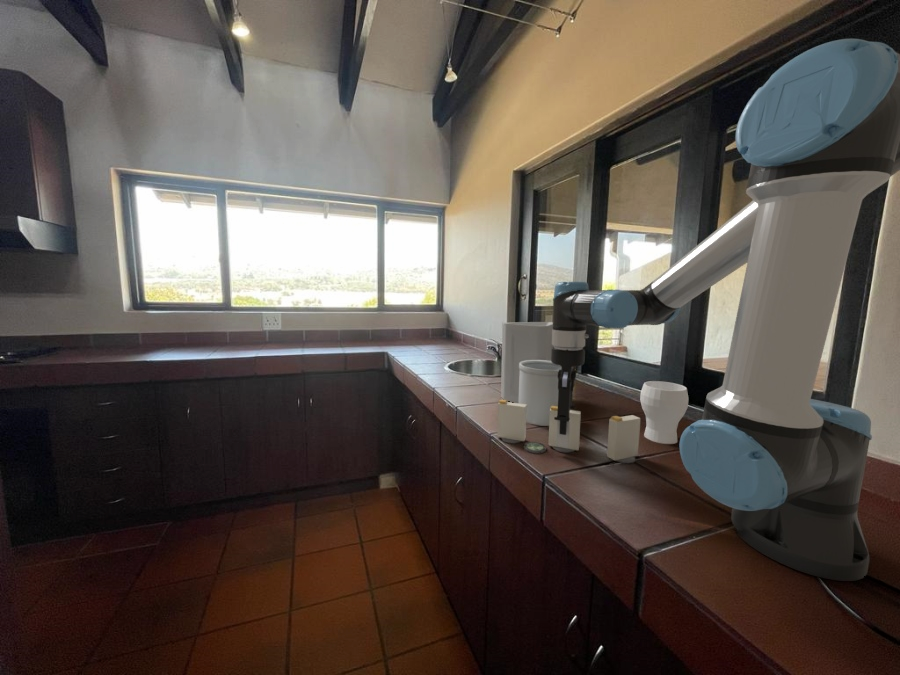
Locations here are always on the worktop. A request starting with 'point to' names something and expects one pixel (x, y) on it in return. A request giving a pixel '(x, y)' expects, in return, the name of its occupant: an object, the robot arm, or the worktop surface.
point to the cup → (663, 410)
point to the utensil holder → (538, 389)
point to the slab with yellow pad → (623, 438)
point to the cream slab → (511, 421)
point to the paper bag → (522, 352)
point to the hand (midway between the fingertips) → (563, 439)
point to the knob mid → (573, 431)
